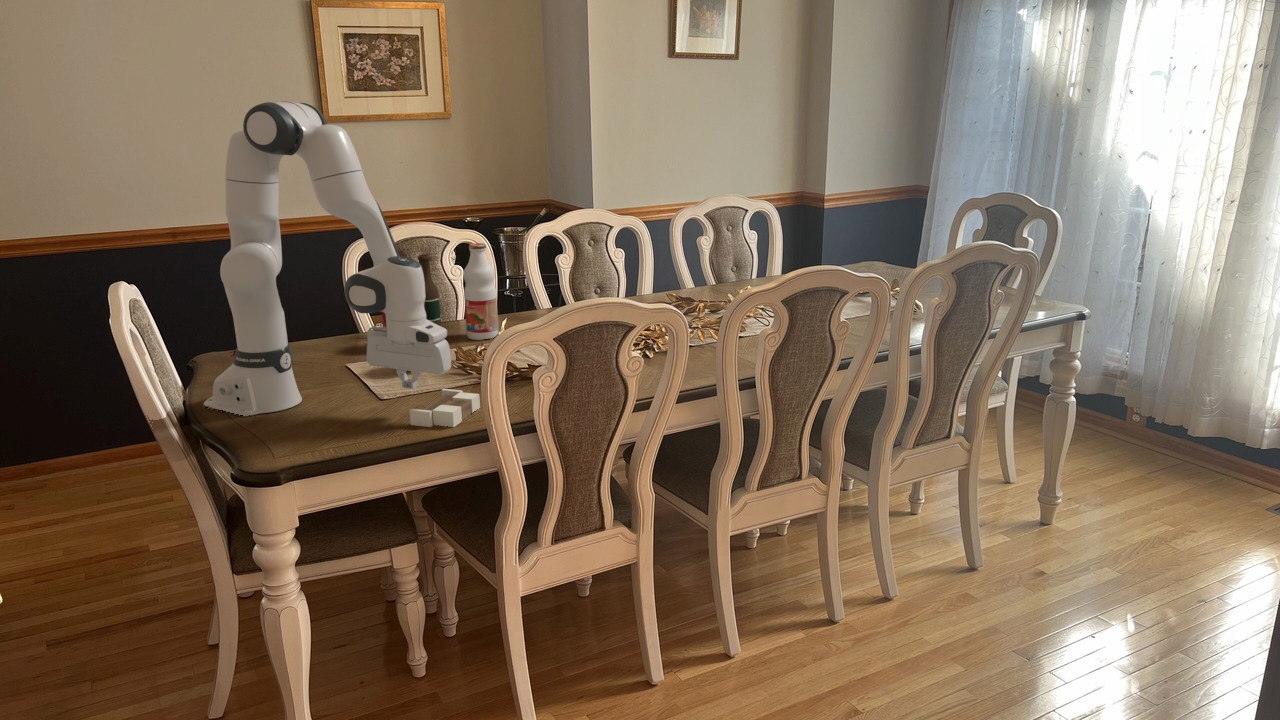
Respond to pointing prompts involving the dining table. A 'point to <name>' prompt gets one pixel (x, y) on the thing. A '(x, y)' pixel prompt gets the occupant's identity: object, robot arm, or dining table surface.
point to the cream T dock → (445, 410)
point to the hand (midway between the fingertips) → (409, 387)
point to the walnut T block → (448, 401)
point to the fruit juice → (480, 295)
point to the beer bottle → (430, 292)
